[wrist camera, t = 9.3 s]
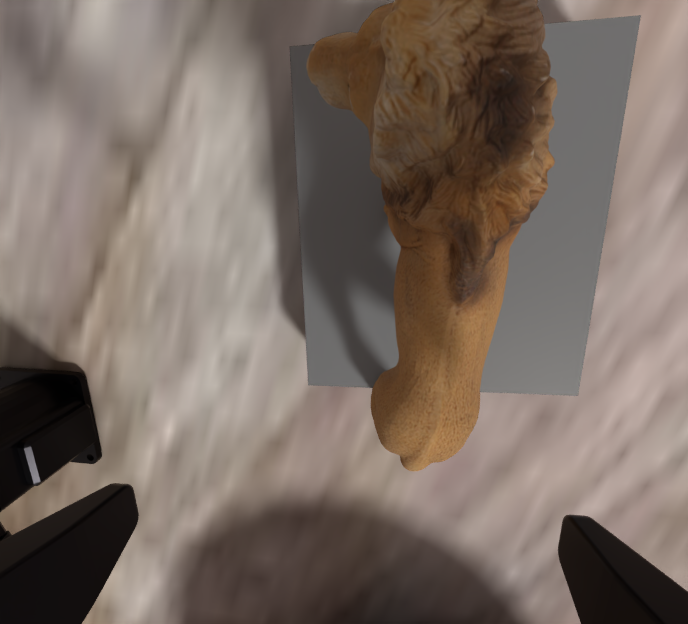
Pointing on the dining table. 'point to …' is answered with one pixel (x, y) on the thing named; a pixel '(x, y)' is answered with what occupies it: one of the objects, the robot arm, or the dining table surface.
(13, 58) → the dining table surface
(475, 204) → the lion figurine
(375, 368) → the grey block
